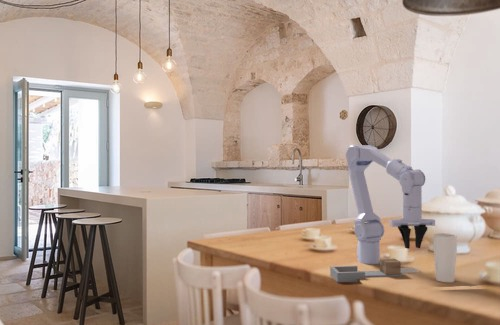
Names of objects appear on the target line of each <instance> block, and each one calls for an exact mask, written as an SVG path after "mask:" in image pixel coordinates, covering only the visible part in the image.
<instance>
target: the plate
mask: <svg viewBox="0 0 500 325" xmlns="http://www.w3.org/2000/svg"><path fill="white" fill-rule="evenodd" d="M401 273H402V274H411V273H414V274H415V273H419V274H420V273H421V271H420V270H418V269H416V268H415V267H412V266H411V267H401Z"/></svg>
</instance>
